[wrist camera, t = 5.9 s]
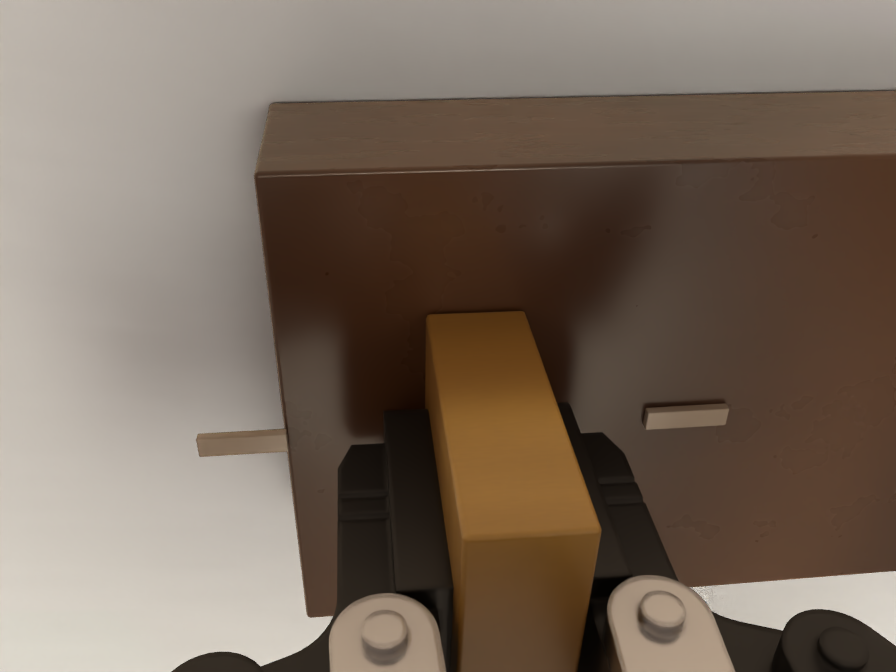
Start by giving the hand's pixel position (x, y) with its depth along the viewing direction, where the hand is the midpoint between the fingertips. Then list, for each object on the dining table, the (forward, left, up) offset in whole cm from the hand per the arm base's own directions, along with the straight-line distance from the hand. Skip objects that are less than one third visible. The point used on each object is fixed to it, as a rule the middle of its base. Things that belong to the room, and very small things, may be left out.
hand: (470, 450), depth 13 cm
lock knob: (0, 0, 0) cm, 0 cm away
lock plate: (-2, -3, -3) cm, 5 cm away
